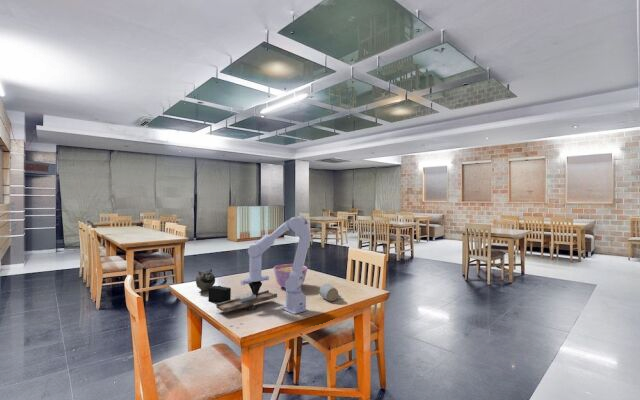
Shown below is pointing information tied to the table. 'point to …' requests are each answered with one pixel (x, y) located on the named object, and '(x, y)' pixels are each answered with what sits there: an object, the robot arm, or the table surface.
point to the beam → (234, 305)
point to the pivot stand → (251, 307)
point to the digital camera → (219, 294)
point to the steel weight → (245, 297)
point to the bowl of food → (286, 273)
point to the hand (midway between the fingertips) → (255, 297)
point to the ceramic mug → (329, 292)
